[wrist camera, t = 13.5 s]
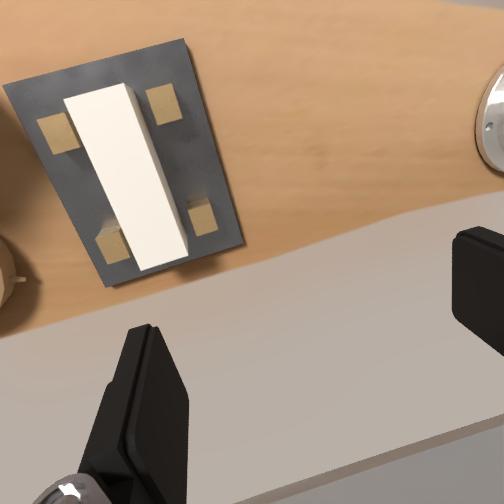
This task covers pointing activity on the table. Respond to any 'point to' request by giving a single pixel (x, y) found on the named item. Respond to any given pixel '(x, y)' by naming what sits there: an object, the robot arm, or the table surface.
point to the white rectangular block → (130, 173)
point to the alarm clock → (7, 273)
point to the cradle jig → (164, 140)
